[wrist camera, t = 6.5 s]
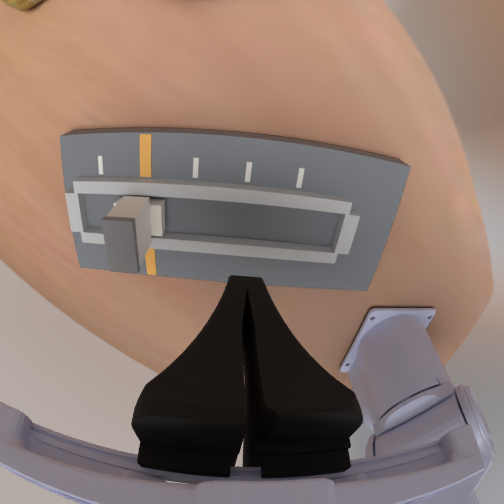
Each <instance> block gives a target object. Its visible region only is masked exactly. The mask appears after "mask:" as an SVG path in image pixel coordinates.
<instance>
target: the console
mask: <svg viewBox="0 0 504 504" xmlns="http://www.w3.org/2000/svg"><path fill="white" fill-rule="evenodd" d="M60 144H61V156H62V167H63V176H64V184H65V191H66V193H65V196H66V202H67V209H68V214H69V220H70V225H71V231H72V233H73V238H74V242H75V247H76V252H77V256H78V260H79V264H80V267H84V268H92V269H100V270H109V265H108V259H107V254H106V248H105V242H104V235H103V229H102V222H101V220H102V218H103V217H104V216H107V215H108V213H109V212H110V211H111V210H112V209H113V207H114V204H113V203H114V202H115V201H116V200H117V199H118V198H119V197H123V196H135V197H149V199H162V200H165V231H164V233H163V236H151V241H152V243H151V245H150V247H149V249H148V251H147V253H146V255H145V257H144V260H143V262H142V264H141V266H140V271H139V273H138V274H145V275H155V276H165V277H176V278H186V279H197V280H209V281H221V282H228V277H229V276H231V275H238V276H250V277H261V278H262V279H263V280H264V283H265V285H273V286H288V287H304V288H321V289H340V290H360V291H367V289H368V287H369V285H370V282H371V280H372V277H373V275H374V273H375V270H376V268H377V265H378V263H379V260H380V257H381V255H382V252H383V249H384V247H385V244H386V241H387V239H388V236H389V233H390V230H391V227H392V225H393V222H394V219H395V216H396V213H397V210H398V207H399V203H400V200H401V197H402V194H403V191H404V187H405V184H406V181H407V177H408V174H409V170H410V166H409V165H407V164H406V163H404V162H403V161H401V160H400V159H396V158H392V157H388V156H384V155H380V154H375V153H371V152H367V151H362V150H357V149H352V148H347V147H342V146H337V145H332V144H326V143H320V142H315V141H308V140H302V139H295V138H288V137H281V136H273V135H265V134H256V133H246V132H236V131H224V130H209V129H191V128H103V129H85V130H72V131H70V132H68V133H65V134H63V135H61V136H60ZM109 271H110V270H109Z"/></svg>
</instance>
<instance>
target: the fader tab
mask: <svg viewBox="0 0 504 504" xmlns="http://www.w3.org/2000/svg"><path fill="white" fill-rule="evenodd" d="M113 204H114V207H113V209H112V210H111V211H110V212H109V213H108V215H107V216H104V217H103V218H102V220H101V222H102V229H103V235H104V242H105V248H106V254H107V259H108V265H109V270H110V271H115V272H124V273H133V274H138V273H139V271H140V266H141V264H142V262H143V260H144V257H145V255H146V253H147V251H148V249H149V247H150V245H151V243H152V241H151V236H163V233H164V231H165V200H162V199H149V197H135V196H123V197H119V198H118V199H117V200H116V201H115V202H114V203H113Z"/></svg>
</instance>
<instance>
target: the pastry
mask: <svg viewBox="0 0 504 504" xmlns="http://www.w3.org/2000/svg"><path fill="white" fill-rule="evenodd" d="M1 1H3V2H4V3H6V4H7V5H9V6H11V7H12V8H15V9H17V10H19V11H26V10H28V9H29V8H31V7H33V6H34V5H36V4H37V3H39V2H41V1H42V0H1Z"/></svg>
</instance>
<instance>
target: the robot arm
mask: <svg viewBox="0 0 504 504" xmlns="http://www.w3.org/2000/svg"><path fill="white" fill-rule="evenodd" d="M435 313H436V310H435V309H434V308H372V309H371V310H370V311H369V312H368V314H367V316H366V318H365V320H364V322H363V324H362V326H361V328H360V330H359V332H358V334H357V336H356V338H355V340H354V342H353V344H352V346H351V348H350V350H349V352H348V353H347V355H346V357H345V359H344V361H343V363H342V364H341V366H340V372H348V374H349V378H350V381H351V385H352V389H353V391H352V390H350V389H349V388H347V387H346V386H345V385H343V384H342V383H340V382H339V381H338V380H336V379H335V378H334V377H333V376H331V375H330V374H329V373H328V372H327V371H326V370H325V369H324V368H323V367H321V366H320V365H319V364H318V363H317V362H316V361H315V360H314V359H313V358H312V357H311V356H310V354H309V353H308V352H307V351H306V350H305V349H304V348H303V346H302V345H301V344H300V343H299V342H298V340H297V339H296V338H295V336H294V335H293V334H292V332H291V331H290V329H289V328H288V326H287V325H286V323H285V322H284V320H283V319H282V317H281V315H280V314H279V312H278V310H277V308H276V307H275V305H274V303H273V301H272V299H271V297H270V295H269V293H268V290H267V288H266V286H265V283H264V280H263V279H262V278H261V277H250V276H238V275H231V276H229V277H228V282H227V285H226V288H225V291H224V293H223V295H222V297H221V299H220V301H219V303H218V305H217V307H216V309H215V310H214V312H213V314H212V315H211V317H210V319H209V320H208V322H207V323H206V325H205V326H204V328H203V329H202V330H201V332H200V333H199V334H198V336H197V337H196V338H195V339H194V340H193V342H192V343H191V344H190V345H189V346H188V347H187V349H186V350H185V351H184V352H183V353H182V354H181V355H180V356H179V357H178V358H177V359H176V360H175V361H174V362H173V363H171V364H170V365H169V366H168V367H167V368H166V369H165V370H164V371H163V372H161V373H160V374H159V375H157V376H156V377H155V378H154V379H152V380H151V381H150V382H148V383H147V384H146V386H145V387H144V389H143V391H142V392H141V394H140V396H139V399H138V401H137V404H136V406H135V409H134V413H133V418H132V423H131V425H132V428H133V430H134V432H135V433H136V435H137V437H138V438H139V440H140V447H139V453H138V455H136V454H131V453H126V452H122V451H117V450H114V449H110V448H106V447H102V446H99V445H95V444H91V443H88V442H84V441H81V440H79V439H75V438H72V437H69V436H66V435H64V434H61V433H58V432H55V431H53V430H50V429H47V428H45V427H42V426H40V425H37V424H35V423H32V421H31V420H30V418H29V417H28V416H26V415H25V414H24V413H22V412H21V411H19V410H16V409H15V408H13V407H10V406H8V405H6V404H4V403H2V402H0V465H1V466H3V467H4V468H6V469H8V470H9V471H11V472H12V473H14V474H16V475H18V476H19V477H21V478H23V479H25V480H27V481H29V482H32V483H33V484H35V485H38V486H39V487H42V488H44V489H46V490H48V491H50V492H53V493H55V494H57V495H60V496H62V497H65V498H67V499H70V500H72V501H75V502H77V503H80V504H479V502H478V499H477V496H476V493H475V489H476V487H477V486H478V485H479V483H480V482H481V480H482V479H483V477H484V476H485V474H486V472H487V471H488V469H489V468H490V466H491V464H492V462H493V455H494V453H495V451H494V447H493V443H492V440H491V438H490V432H489V429H488V426H487V423H486V421H485V418H484V416H483V413H482V411H481V409H480V406H479V404H478V402H477V400H476V398H475V396H474V394H473V392H472V390H471V389H470V388H469V386H463V385H462V384H460V385H459V386H457V387H456V388H455V387H454V386H453V384H452V382H451V380H450V378H449V376H448V374H447V371H446V369H445V367H444V365H443V363H442V361H441V359H440V357H439V355H438V353H437V351H436V349H435V347H434V345H433V343H432V341H431V339H430V337H429V335H428V333H427V331H426V328H427V326H428V325H429V323H430V322H431V320H432V318H433V317H434V315H435ZM243 366H244V369H243ZM244 377H245V385H244ZM362 422H364V424H365V425H366V426H368V427H369V428H370V429H372V430H374V432H375V433H374V434H373V435H371V436H370V438H369V440H368V443H367V446H366V451H365V458H361V459H356V460H350V457H349V452H348V449H349V448H350V446H351V444H350V439H349V437H350V436H351V435H352V434H353V433H354V432H355V431H356V430H357V429H358V428H359V427H360V425H361V424H362ZM243 438H244V442H243ZM242 442H243V467H235V463H236V459H237V456H238V454H239V452H240V449H241V445H242ZM165 480H166V481H173V482H180V483H188V484H180V483H168V482H166V481H165Z"/></svg>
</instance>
